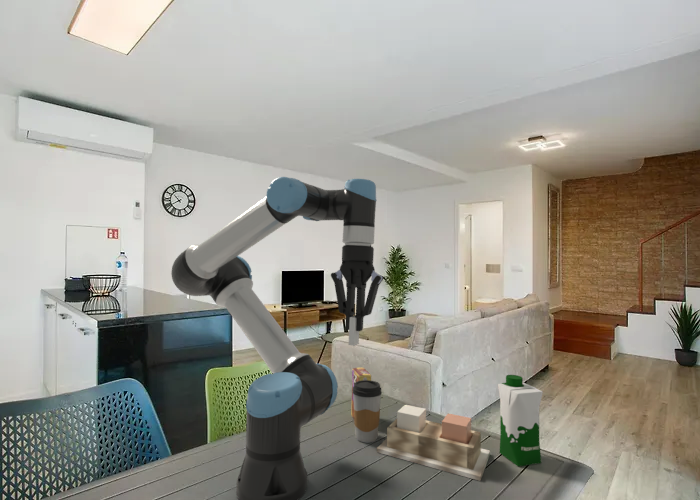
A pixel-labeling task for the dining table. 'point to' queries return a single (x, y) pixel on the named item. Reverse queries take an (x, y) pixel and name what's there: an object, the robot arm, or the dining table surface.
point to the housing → (436, 450)
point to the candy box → (358, 375)
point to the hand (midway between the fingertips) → (353, 344)
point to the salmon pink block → (456, 428)
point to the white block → (411, 418)
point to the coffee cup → (366, 410)
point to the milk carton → (519, 421)
